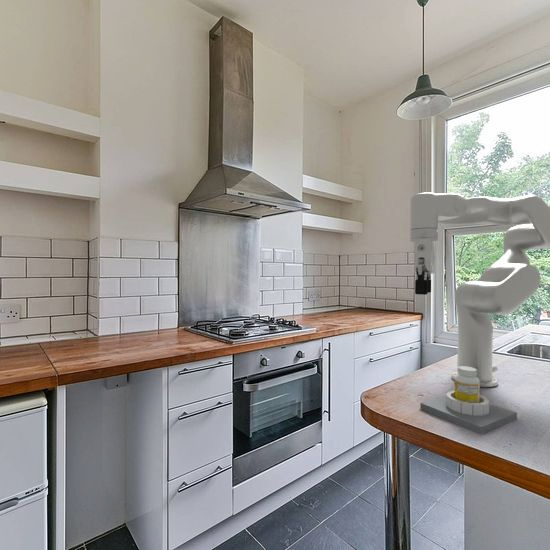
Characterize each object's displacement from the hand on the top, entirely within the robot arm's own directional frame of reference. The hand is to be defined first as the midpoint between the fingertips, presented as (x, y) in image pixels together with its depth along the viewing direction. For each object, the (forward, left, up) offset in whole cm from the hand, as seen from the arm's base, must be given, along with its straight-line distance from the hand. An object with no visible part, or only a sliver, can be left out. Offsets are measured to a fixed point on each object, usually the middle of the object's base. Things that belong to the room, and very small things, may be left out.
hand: (423, 293), depth 99 cm
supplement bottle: (+6, +17, -27) cm, 32 cm away
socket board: (+6, +17, -28) cm, 34 cm away
